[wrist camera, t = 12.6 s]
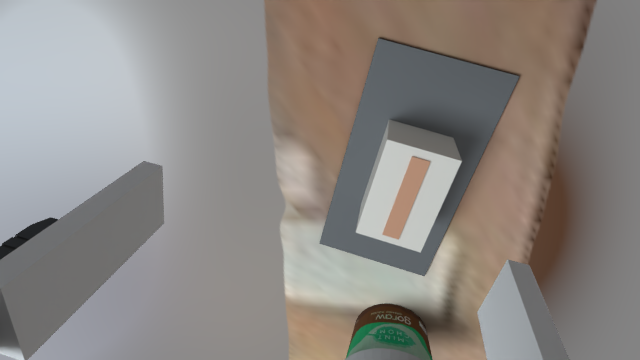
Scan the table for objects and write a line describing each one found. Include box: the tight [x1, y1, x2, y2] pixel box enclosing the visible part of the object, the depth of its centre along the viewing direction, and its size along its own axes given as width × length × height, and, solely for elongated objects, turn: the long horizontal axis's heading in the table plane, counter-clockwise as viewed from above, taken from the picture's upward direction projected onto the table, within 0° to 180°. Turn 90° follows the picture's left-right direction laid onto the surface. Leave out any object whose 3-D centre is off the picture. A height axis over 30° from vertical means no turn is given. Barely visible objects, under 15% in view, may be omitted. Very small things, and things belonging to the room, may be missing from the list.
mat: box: [320, 38, 519, 276], centre depth 40 cm, size 24×13×1 cm, turn 166°
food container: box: [345, 304, 432, 360], centre depth 45 cm, size 12×6×10 cm, turn 101°
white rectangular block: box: [356, 119, 462, 253], centre depth 37 cm, size 10×6×6 cm, turn 166°
